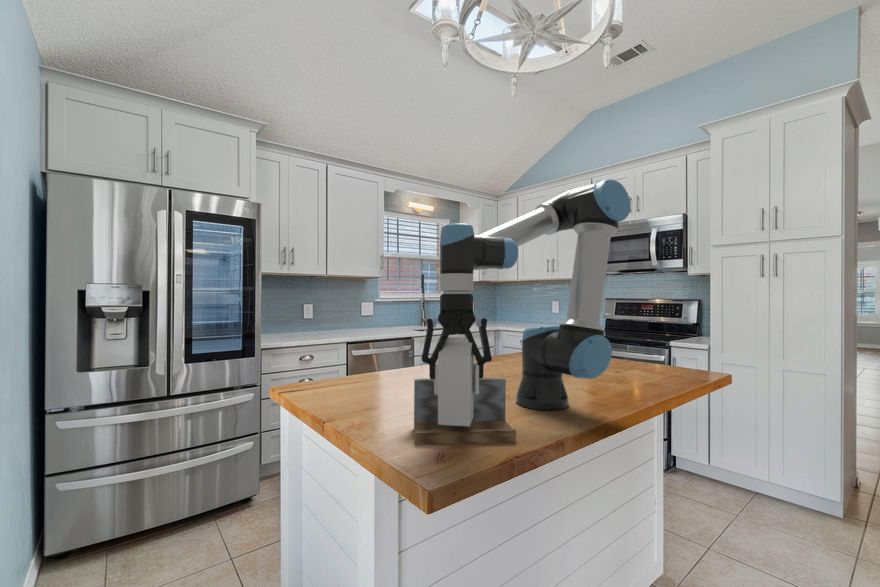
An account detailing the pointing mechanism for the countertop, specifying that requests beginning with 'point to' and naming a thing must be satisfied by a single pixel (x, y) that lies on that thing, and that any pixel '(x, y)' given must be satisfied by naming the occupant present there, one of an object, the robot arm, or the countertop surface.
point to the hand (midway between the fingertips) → (456, 393)
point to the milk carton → (455, 383)
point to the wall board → (484, 424)
